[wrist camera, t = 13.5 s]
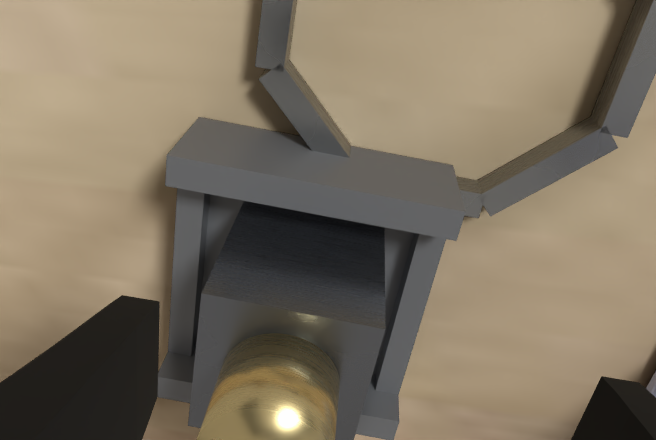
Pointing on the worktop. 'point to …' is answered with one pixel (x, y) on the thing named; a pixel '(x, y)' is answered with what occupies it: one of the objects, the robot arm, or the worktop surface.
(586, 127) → the socket
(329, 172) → the rack
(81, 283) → the worktop surface
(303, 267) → the gold-capped square jar
